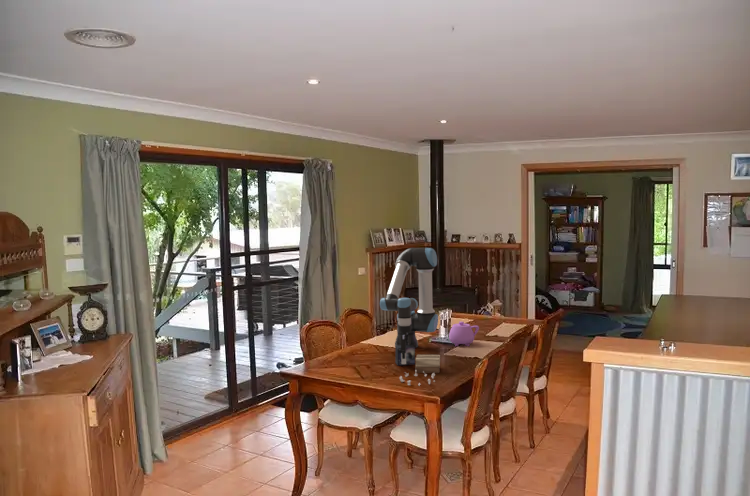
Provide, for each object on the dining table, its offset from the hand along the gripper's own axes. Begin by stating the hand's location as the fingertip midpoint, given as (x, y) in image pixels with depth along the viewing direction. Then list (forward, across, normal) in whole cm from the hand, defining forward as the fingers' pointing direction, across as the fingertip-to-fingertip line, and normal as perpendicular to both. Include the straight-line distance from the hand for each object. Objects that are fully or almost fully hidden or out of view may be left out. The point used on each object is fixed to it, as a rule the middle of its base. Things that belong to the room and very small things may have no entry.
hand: (405, 361), depth 337 cm
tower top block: (-2, +12, +14) cm, 19 cm away
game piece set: (+2, +31, +10) cm, 33 cm away
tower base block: (+2, +12, +14) cm, 19 cm away
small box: (+2, 0, 0) cm, 2 cm away
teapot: (+2, -53, +33) cm, 62 cm away
